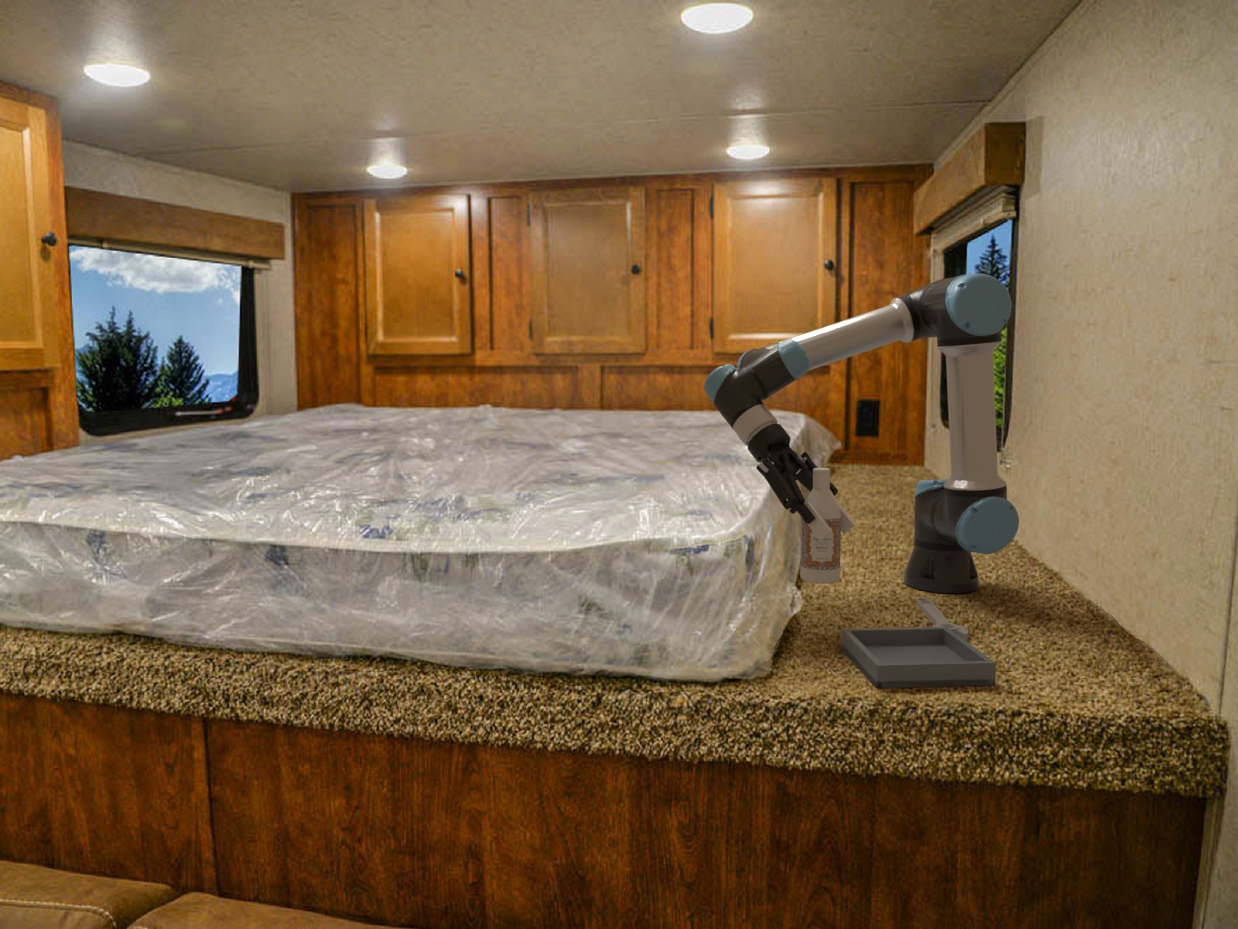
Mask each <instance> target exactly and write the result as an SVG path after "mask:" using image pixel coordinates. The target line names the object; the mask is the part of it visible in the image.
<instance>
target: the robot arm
mask: <svg viewBox="0 0 1238 929" xmlns="http://www.w3.org/2000/svg"><path fill="white" fill-rule="evenodd" d="M1012 305H1013V304H1012V299H1011V295H1010V292H1009V290H1008V289H1007V287H1006V285H1005V284H1004V283H1003V282H1001V281H1000V280H999V279H998V278H996V277H994V276H992V275H989V274H986V273H967V274H961V275H958V276H953V277H948V278H941V279H939V280H938V279H937V280H935V281H933V282H931V283H930V282H929V284H926V285H923V286H922V287H920V288H918V289H915V290H912V291H910V292H907V293H906V294H904V295H900V296H898V297H897V296H896V297H894V298H892V299H891V301H890V303H889V304H888V305H886V306H883V307H880V308H877V309H874V310H871V311H867V312H864V313H861V314H859V315H855V316H853V317H849V318H847V319H844V320H841V321H838V322H835V323H833V324H829V325H826V326H823V327H820V328H817V329H815V330H814V329H813V330H811V331H808V332H805V333H802V334H799V335H796V336H792V337H790V338H786V339H785V340H784V339H783V340H781V341H778V342H776V343H772V344H769V345H766V346H763V347H760V348H753V349H750V350H747V351H745V352H744V353H743V354H742V355H741V356H740V357H739V358H738V361H737V364H736V367H735V366H734V365H733V364H729V363H727V364H724V365H723V366H722V365H721V366H718V367H717V368H715V369H714V370H713V371H711V372H709V375H708V376H707V377H706V379H705V380H704V382H703V383H704V384H703V390H704V392H705V394H706V395H707V396H708V398H709V399H710V401H711V403H712V404H713V406H714V408H716V409H717V411H718V412H719V413H720V415H721V416H722V418H723V419H724V420H725V422H727V424H728V425H729V427H731V429H732V430H733V431H734V432H735V434H736V435H737V437H738V438H739V440H740V441H741V442H742V443H743V445H744V446H746V447H747V450H748V452H749V453H750V455H752V457H753V458H754V460H756V462H757V463H759V464H757V466H756V468H755V469H756V470H757V471H758V472H759V473H760V474H761V475H762V476H763V477H764V479H765V480H766V482H767V484H768V485H769V486H770V488H771V489H772V491H773V492H774V494H775V495H776V497H777V499H778V500H779V501H780V503H781V505H782V506H783V507H784V509H785V510H788V512H789V513H790V514H793V515H794V514H795V513H798V514H799V516H800V518H801V517H802V518H803V520H804V521H805V522H806V523H807V524H808V526H809V527H810V528H811V530H812V531H813V532H814V534H815V535H816V536H817V538H818V539H819V540H820V541H822V540H823V539H824V538H825V537H826V536H827V535H828V534H829V533H831V532H832V530H831V529H830V527H829V526H828V525H827V523H826V522H825V521H824V520H823V518H822V517H821V516H820V514H819V513H818V512H817V510H816V509H815V508H814V507H813V505H812V504H811V503H810V502H807V503H806V504H804V503H805V500H806V498H804V494H803V493H802V491H801V489H800V486H799V485H798V483H797V481H798V482H799V483H800V485H801V484H802V486H803V487H804V488H806V489H807V490H808V491H809V492H811V491H812V489H813V469H814V468H819V467H818V465H817V464H815V463H814V462H813V460H812V458H811V457H810V455H809V454H808V453H807V452H806V451H803V453H801V454H798V453H797V451H795V450H794V449H793V448H792V447H791V445H790V442H791V436H790V435H789V433H788V432H787V431H786V430H785V428H784V427H783V425H781V424H780V423H778V420H777V418H776V417H775V416H774V414H773V413H772V412H771V411H770V410H769V408H768V407H767V405H765V403H764V401H765V400H767V399H768V398H770V397H771V396H774V395H775V394H777V393H778V392H779V391H781V390H783V389H784V388H786V387H787V386H789V385H790V384H792V383H794V382H795V381H798V380H799V379H800V378H801V377H803V376H804V375H805V374H806V373H807V372H809V371H811V370H814V369H815V370H816V369H817V368H820V367H821V368H822V367H823V366H826V365H829V364H832V363H835V362H839V361H841V360H844V359H847V358H851V357H853V356H856V355H860V354H863V353H866V352H869V351H872V350H875V349H877V348H881V347H884V346H887V345H890V344H893V343H895V342H898V341H901V342H902V343H904V344H910V343H911V342H914V341H918V340H922V339H929V338H936V344H937V345H936V346H937V349H938V350H939V351H941V353H942V354H944V356H945V363H946V365H945V366H946V383H947V384H946V387H947V388H946V389H947V407H948V408H947V409H948V410H947V411H948V412H947V413H948V432H949V435H948V436H949V451H950V452H949V453H950V474H951V475H950V477H949V478H948V479H922V480H920V481H918V482H917V484H916V485H915V494H914V528H913V529H914V533H913V549H912V552H911V554H910V557H909V560H908V561H907V565H906V567H905V570H904V574H903V575H904V576H903V583H904V584H905V585H907V586H908V587H910V588H913V589H917V590H921V591H925V592H926V591H927V592H932V593H933V592H934V593H943V594H945V593H946V594H961V593H963V594H964V593H969V592H970V593H971V592H974V591H976V590H978V589H979V582H980V581H979V580H980V578H979V574H978V571H977V568H976V567H977V566H976V564H975V560H974V557H973V553H975V554H980V555H989V554H990V555H991V554H995V553H998V552H1000V551H1002V550H1003V549H1005V548H1007V547H1008V546H1009V544H1010V543H1011V542H1012V541H1014V539H1015V537H1016V535H1017V532H1018V530H1019V525H1020V517H1019V513H1018V510H1017V509H1016V507H1015V506H1014V505H1013V503H1012V502H1011V501H1010V500H1008V489H1007V488H1008V486H1007V481H1006V480H1004V479H1003V478H1002V477H1001V476H1000V474H999V473H998V470H999V469H998V448H997V447H998V446H997V444H998V443H997V421H996V420H997V419H996V391H995V370H994V369H995V368H994V365H995V364H994V352H995V351H996V349H997V348H998V347H1000V345H1001V344H1002V329H1003V328H1004V327H1005V325H1006V323H1007V322H1008V321H1009V319H1010V317H1011V314H1012ZM830 490H831V492H832V493H833V495H834V497H835V496H836V495H837V494H838V493H839V490H838V489H837V487H836V486H835V485H834V484H833V483H832V481H830ZM835 498H836V497H835ZM837 502H838V504H839V507H840V512H841V533H842V534H843V535H846V534H847V533H848V532H850V530H852V529H853V528H854V527H855V526H856V523H855V522H854V520H853V518H852V517H851V516H850V515H849V514H848V513H847V512H846V510H845V508H843V506H842V505H841V504H840V503H839V501H838V500H837Z"/></svg>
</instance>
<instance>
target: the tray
mask: <svg viewBox="0 0 1238 929" xmlns="http://www.w3.org/2000/svg"><path fill="white" fill-rule="evenodd" d="M840 642H841V644H840V649H841V651H842V652H843V653H844V655H846V657H847V658H848V659H850V661H851V662H852V663H853V664H854V665H855V666H856V667H857V668H858V669H859V670H860V672H862V674H863V675H864V676H865V677H866V679H868V680H869V681H870V682H871V684H872V686H874V687H875V688H876V689H890V688H891V689H892V688H894V689H895V688H897V689H898V688H900V689H901V688H937V687H939V688H941V687H942V688H943V687H949V688H950V687H983V686H984V687H986V686H990V687H991V686H996V664H997V663H996V662H995V661H994V660H993V659H991V658H990V657H988V656H987V655H986V654H984V653H983V652H981V651H980V650H979V649H977V648H976V647H974V645H972V644H971V643H969V642H968V641H965V640H964V639H962V638H961V637H959V636H958V635H957V634H955V633H954V632H953V631H951V630H950V629H948V628H947V627H934V626H933V627H930V626H929V627H928V626H926V627H925V626H924V627H923V626H921V627H886V628H885V627H879V628H877V627H875V628H872V627H871V628H841V641H840Z"/></svg>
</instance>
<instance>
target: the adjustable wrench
mask: <svg viewBox="0 0 1238 929" xmlns="http://www.w3.org/2000/svg"><path fill="white" fill-rule="evenodd" d="M916 606H917V607H918V609H920V611H922V612H923V614H924V615H925V616H926V617H927V619H928V620H929V621H930V622H931V623H932V624H933V627H947V628H948V629H950V630H951V631H953V632H954V633H955V634H957V635H958V636H959V637H961V638H962V639H964V640H965V641H966V642H968V640H969V633H970V632H969V629H968V627H966V626H962V625H958V624H954V623H952V622H950V621H949V620H948V619H947V618H946V617H945V616H944V614H943V613H942V612H941V611H940V610H939V608H938V607H937V606H936V604H934V603H933V602H932V600H931V599H930V598H925V597H919V598H916Z"/></svg>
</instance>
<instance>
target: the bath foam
mask: <svg viewBox="0 0 1238 929" xmlns="http://www.w3.org/2000/svg"><path fill="white" fill-rule="evenodd" d="M830 482H831V469H830V468H828V467H818V468H814V469H813V489H812V491H811V492H810V491H809V492H810V493H809V494H808V495H807V497H806V498H805V503H804V504H806V503H807V502H810V503H811V504H812V505H813V507H814V508H815V509H816V510H817V512H818V513H819V514H820V516H821V517H822V518H823V520H824V521H825V522H826V523H827V525H828V526H829V527H830V529H831V530H832V532H831V533H829V534H828V535H827V536H826V537H825V538H824V539H823V540H822V541H820V540H819V539H818V538H817V536H816V535H815V534H814V532H813V531H812V530H811V528H810V527H809V526H808V524H807V523H806V522H805V521H804V520H803V518H802V517H801V516H800V564H799V565H800V567H799V568H800V574H799V575H800V576H799V577H800V579H801V580H802V581H805V582H808V583H811V584H820V585H821V584H826V585H827V584H835V583H837V582H838V581H839V580H840V579H841V578H840V577H841V544H842V542H841V541H842V540H841V539H842V538H841V537H842V531H841V512H840V507H839V504H840V503H839V501H838V500H837V499H836V497H834V495H833V493H832V492H831V490H830ZM837 501H838V502H837ZM838 503H839V504H838Z"/></svg>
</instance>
